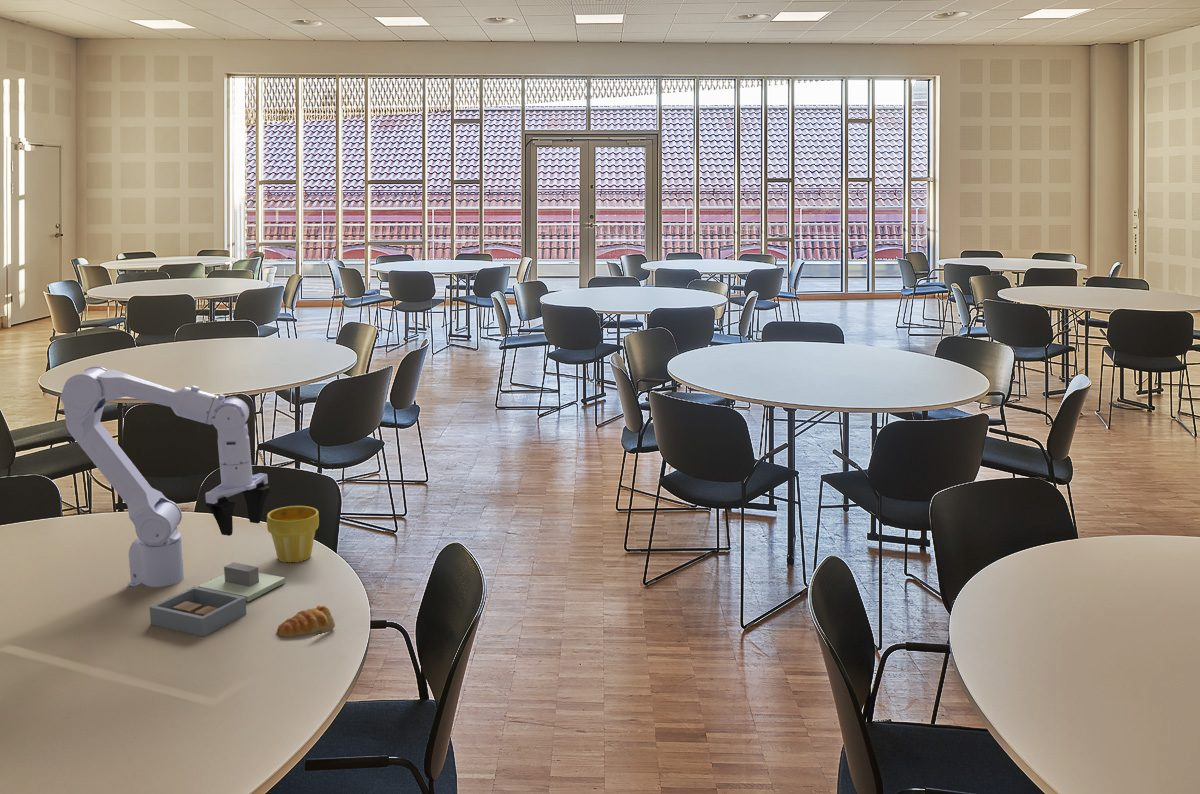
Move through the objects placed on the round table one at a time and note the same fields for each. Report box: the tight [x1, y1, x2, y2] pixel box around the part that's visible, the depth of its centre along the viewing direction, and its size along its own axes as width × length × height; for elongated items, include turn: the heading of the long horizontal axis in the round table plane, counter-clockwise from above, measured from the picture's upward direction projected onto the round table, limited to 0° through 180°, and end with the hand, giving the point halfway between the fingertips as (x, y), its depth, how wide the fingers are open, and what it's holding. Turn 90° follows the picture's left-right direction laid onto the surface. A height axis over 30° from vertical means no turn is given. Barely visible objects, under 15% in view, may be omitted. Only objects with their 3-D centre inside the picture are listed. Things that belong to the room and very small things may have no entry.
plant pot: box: [266, 505, 320, 564], centre depth 200 cm, size 10×10×10 cm
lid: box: [197, 562, 286, 603], centre depth 182 cm, size 12×10×5 cm
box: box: [148, 586, 247, 638], centre depth 168 cm, size 12×10×4 cm
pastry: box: [276, 605, 336, 638], centre depth 166 cm, size 9×7×4 cm
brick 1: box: [172, 601, 203, 615], centre depth 169 cm, size 4×3×2 cm
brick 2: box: [195, 606, 218, 616], centre depth 167 cm, size 4×3×2 cm
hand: (241, 528), depth 187 cm, fingers open, 7 cm apart
